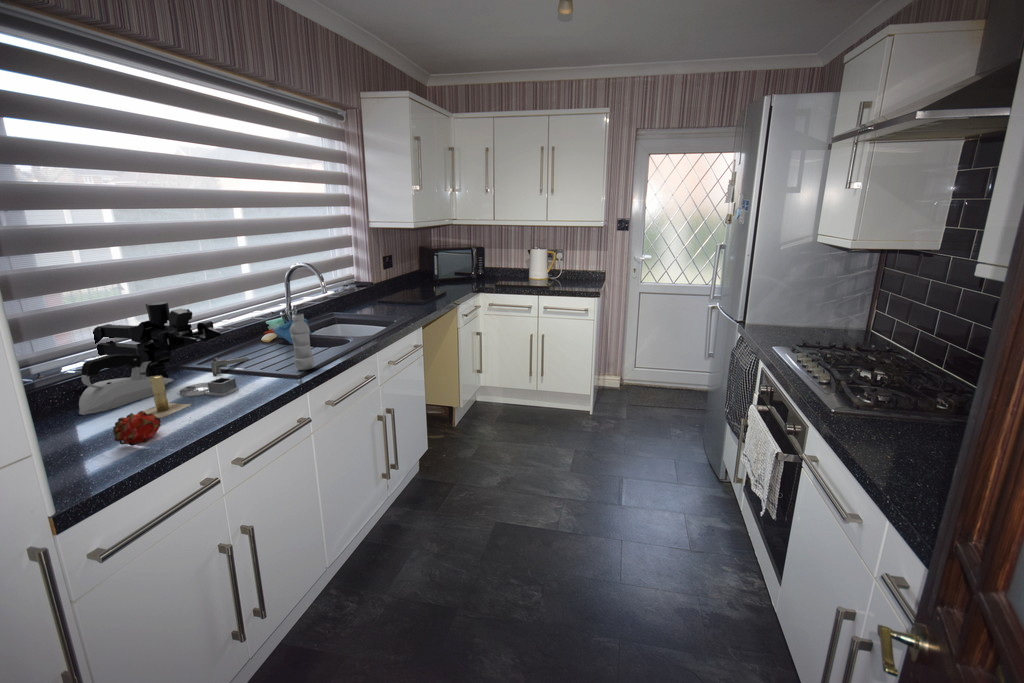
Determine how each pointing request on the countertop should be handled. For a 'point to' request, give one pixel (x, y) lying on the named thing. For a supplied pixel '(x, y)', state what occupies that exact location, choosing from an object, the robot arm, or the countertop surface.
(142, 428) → the dragon fruit
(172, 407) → the tan square plate
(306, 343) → the plastic bottle
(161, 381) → the brass cylinder
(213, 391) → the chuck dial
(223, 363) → the caliper
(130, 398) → the iron
